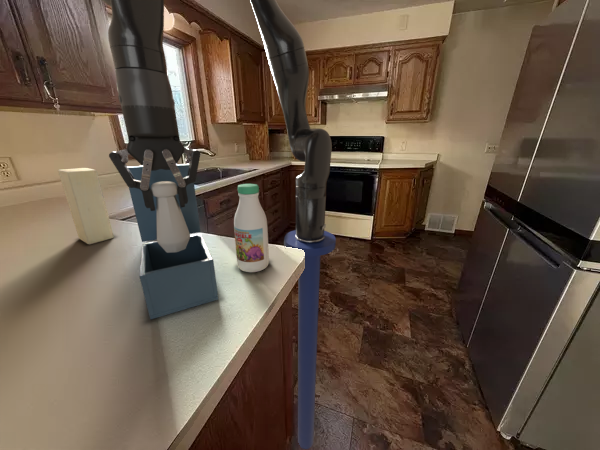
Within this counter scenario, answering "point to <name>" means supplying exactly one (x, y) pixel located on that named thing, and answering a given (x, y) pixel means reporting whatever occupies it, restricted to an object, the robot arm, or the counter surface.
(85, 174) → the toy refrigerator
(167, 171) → the freezer lid
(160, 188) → the salt shaker
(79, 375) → the counter surface
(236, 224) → the milk bottle
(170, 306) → the box
